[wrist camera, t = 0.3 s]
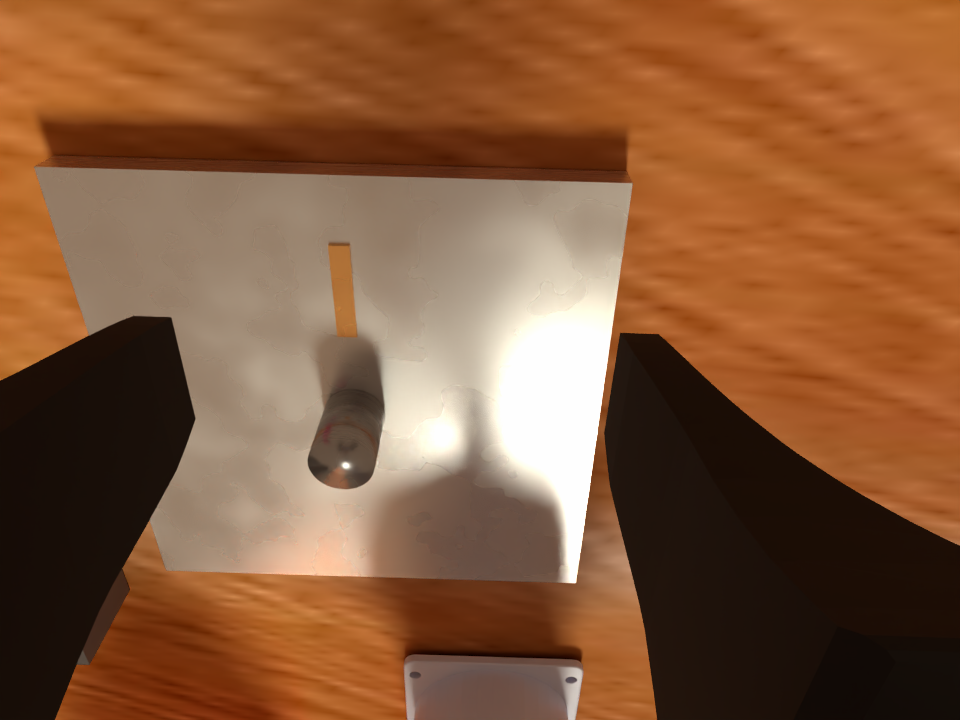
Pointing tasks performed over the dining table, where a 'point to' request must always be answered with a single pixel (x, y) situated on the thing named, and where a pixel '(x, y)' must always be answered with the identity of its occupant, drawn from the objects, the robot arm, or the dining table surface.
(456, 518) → the flat square panel
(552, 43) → the dining table surface
